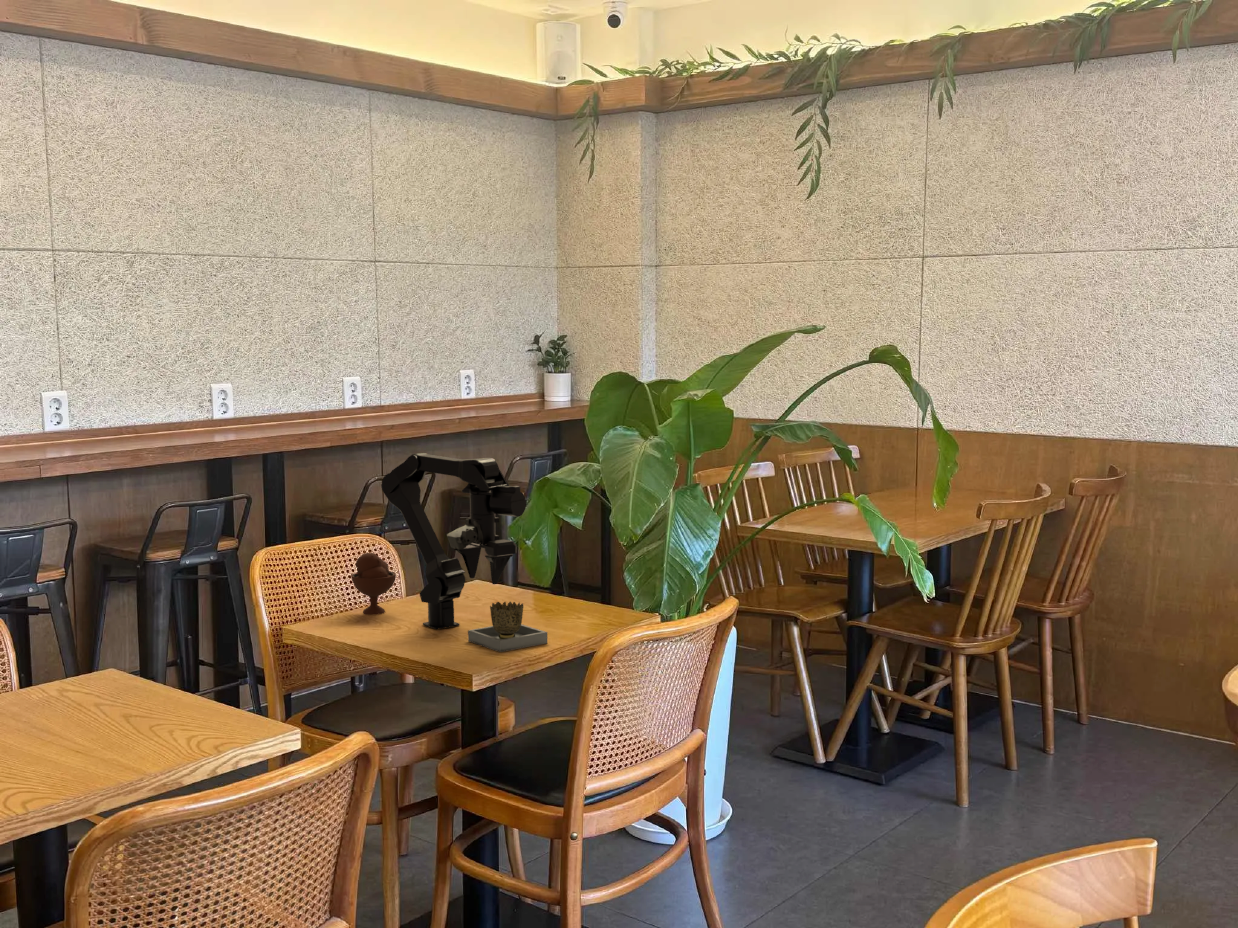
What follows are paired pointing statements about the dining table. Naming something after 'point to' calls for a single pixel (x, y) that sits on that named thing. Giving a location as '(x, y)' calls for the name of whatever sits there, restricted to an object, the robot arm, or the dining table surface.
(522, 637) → the tray
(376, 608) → the ice cream bowl
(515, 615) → the cup
